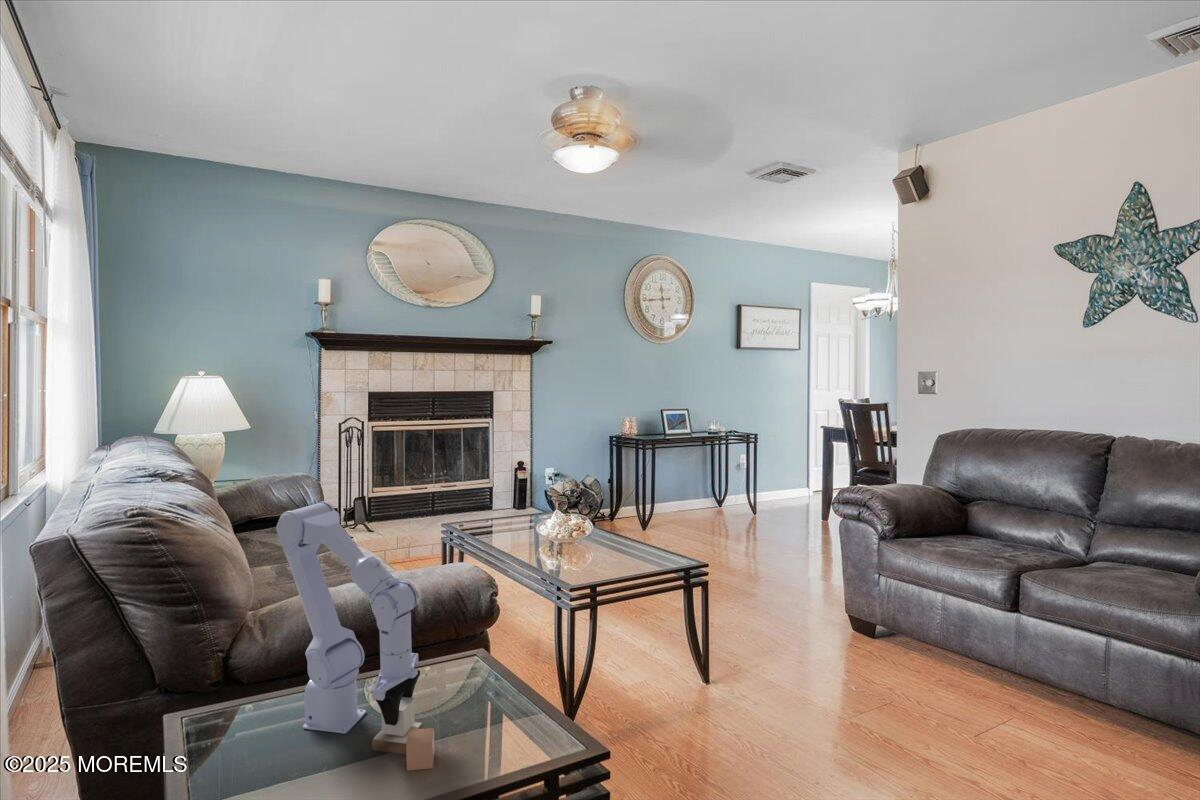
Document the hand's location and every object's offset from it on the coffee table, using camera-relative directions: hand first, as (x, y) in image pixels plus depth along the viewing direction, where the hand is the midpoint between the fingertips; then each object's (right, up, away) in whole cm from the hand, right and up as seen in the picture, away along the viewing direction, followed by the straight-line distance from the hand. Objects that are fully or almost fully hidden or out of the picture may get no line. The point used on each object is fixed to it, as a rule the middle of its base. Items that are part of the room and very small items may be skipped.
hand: (397, 716), depth 134 cm
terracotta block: (+6, -6, -6) cm, 10 cm away
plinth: (0, -5, +1) cm, 5 cm away
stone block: (0, -2, 0) cm, 2 cm away
